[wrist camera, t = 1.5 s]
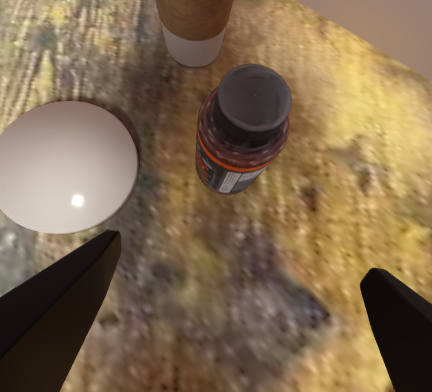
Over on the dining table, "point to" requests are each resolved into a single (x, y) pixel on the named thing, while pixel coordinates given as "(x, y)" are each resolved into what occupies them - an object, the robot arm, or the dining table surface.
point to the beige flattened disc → (66, 167)
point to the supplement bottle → (241, 127)
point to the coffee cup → (194, 29)
